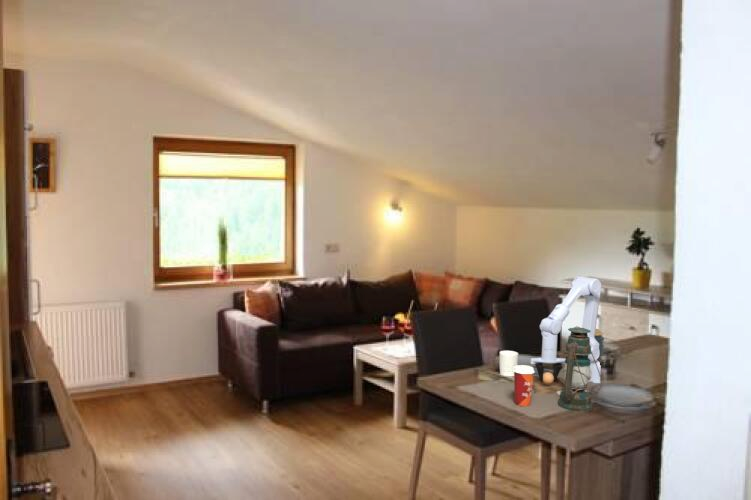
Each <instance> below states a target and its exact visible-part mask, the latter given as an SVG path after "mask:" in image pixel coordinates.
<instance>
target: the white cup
mask: <svg viewBox="0 0 751 500" xmlns="http://www.w3.org/2000/svg"><path fill="white" fill-rule="evenodd" d="M517 365H519V352H517V351H514V350H500V351H499V374H500V375H501V376H503V377H514V371H513V370H514V368H515V366H517Z"/></svg>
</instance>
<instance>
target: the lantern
mask: <svg viewBox="0 0 751 500" xmlns="http://www.w3.org/2000/svg"><path fill="white" fill-rule="evenodd" d="M567 329H568V331H569V332H570V335H568V338H567V342H566V343H565V349H564V350H563V351H564V352H566V353H567V356H566V357H565V359H566V360H565V361H564V362H565V364H564V367H563V371H562V372H563V375H562V376H563V381H564V382H565V387H564V388H562V390H563V391H561V392H560V395H559V398H558V400H557V406H558V407H560V408H562V409H563V410H567V411H572V412H589V411H588V410H590V411H592V410H593V409H594V404H593V402H592V394H593V395H594V394H595V393H596V394H598V392H599V390H601V388H602V386H603V379H602V376H601V374H600V372H599V370H598V372H599V375H600V382H601V383H600V387H598V388H597V389H596V390H594V391H593V392H590V390H589V389H588V388H587V386H588V381H590V379H591V376H592V372H591V370H590V365H591V363H590V359H588V355H590V354H592V351H591V345H590V338H589V337H588V335H587V333H590V332H591V331H590V330H588V329H585V328H582V327H580V326H578V325H577V326H573V327H569V328H567ZM592 356H593V354H592ZM593 359H594V356H593ZM594 361H595V359H594ZM595 364H596V361H595ZM596 366H597V364H596ZM597 369H598V367H597ZM590 373H591V375H590ZM590 382H591V381H590ZM585 390H587V391H588V390H589V391H588V392H585ZM592 408H593V409H592ZM591 409H592V410H591Z"/></svg>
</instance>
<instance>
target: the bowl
mask: <svg viewBox="0 0 751 500" xmlns="http://www.w3.org/2000/svg"><path fill="white" fill-rule="evenodd" d="M533 369H534V371H535V372H534V374H533V377H539V374H538V370H537V368H536V367H533ZM546 372H549V373H551V374H552V375H553V369H549V368H544V371H543V374H544V373H546Z"/></svg>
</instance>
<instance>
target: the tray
mask: <svg viewBox="0 0 751 500" xmlns="http://www.w3.org/2000/svg"><path fill="white" fill-rule="evenodd" d="M564 387H565V380H564V379H562V378H561V377H558V376H557V380H556V382H554V381H553V382H552V383H551V384H545V383H543V382H540V379H539V377H533V383H532V390H533V393H534V394H536V395H537V394H539V395H540V394H542V395H543V394H546V395H547V394H548V395H551V394H552V395H558V394H557V391H563V390H562V388H564Z"/></svg>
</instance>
